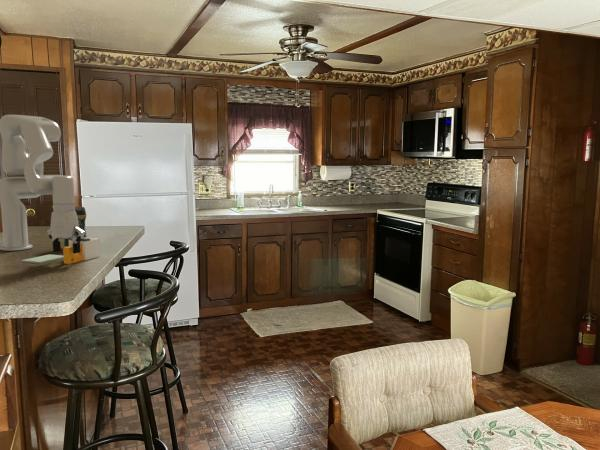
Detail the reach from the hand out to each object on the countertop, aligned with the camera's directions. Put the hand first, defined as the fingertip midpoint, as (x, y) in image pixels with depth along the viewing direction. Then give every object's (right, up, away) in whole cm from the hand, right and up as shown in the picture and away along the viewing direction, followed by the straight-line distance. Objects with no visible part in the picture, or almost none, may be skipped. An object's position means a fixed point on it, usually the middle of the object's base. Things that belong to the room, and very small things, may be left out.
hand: (66, 252), depth 193 cm
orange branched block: (+2, -4, +4) cm, 6 cm away
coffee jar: (-11, 0, +33) cm, 35 cm away
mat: (-11, -3, +6) cm, 13 cm away
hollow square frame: (+3, -3, +9) cm, 10 cm away
